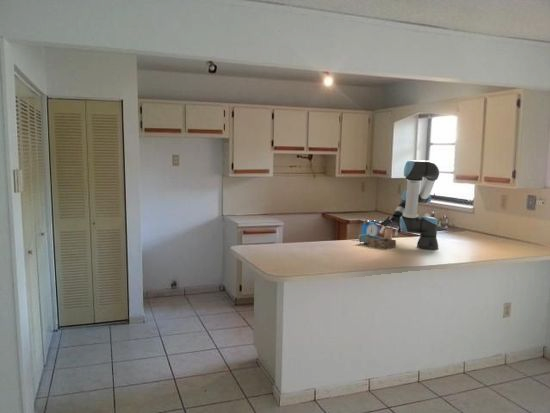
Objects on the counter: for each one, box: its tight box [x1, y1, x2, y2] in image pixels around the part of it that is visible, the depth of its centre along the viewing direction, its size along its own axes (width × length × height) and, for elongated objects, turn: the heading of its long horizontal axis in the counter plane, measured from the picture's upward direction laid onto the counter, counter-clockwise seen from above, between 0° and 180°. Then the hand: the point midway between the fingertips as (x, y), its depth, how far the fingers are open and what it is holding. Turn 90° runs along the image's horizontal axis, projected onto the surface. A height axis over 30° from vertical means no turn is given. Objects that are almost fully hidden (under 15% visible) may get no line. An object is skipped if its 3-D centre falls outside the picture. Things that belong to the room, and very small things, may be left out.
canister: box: [384, 226, 393, 240], centre depth 358 cm, size 6×6×12 cm
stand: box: [366, 238, 397, 250], centre depth 342 cm, size 15×14×5 cm
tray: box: [358, 234, 386, 244], centre depth 347 cm, size 16×13×5 cm
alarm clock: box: [360, 219, 380, 237], centre depth 375 cm, size 13×6×15 cm, turn 113°
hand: (387, 234), depth 358 cm, fingers open, 13 cm apart
